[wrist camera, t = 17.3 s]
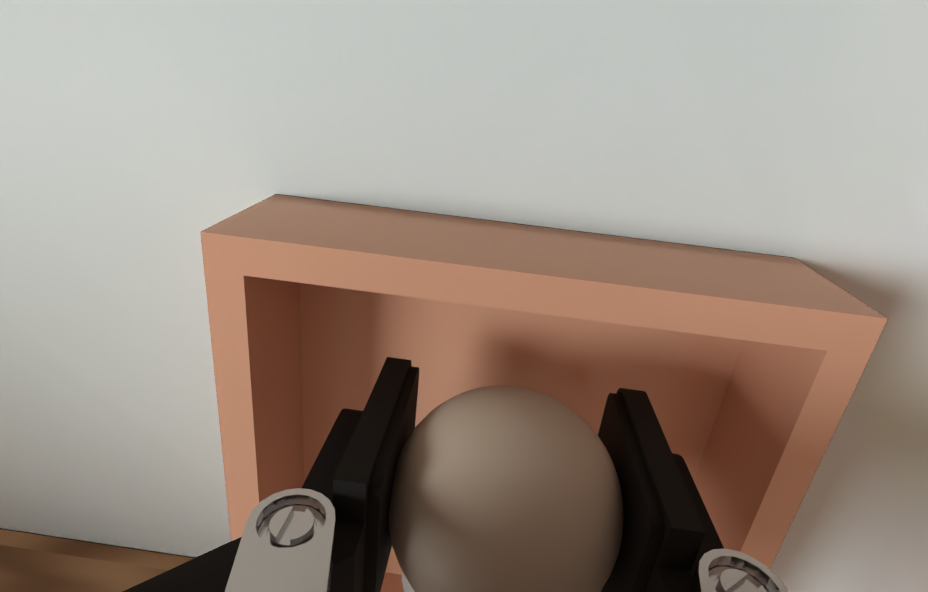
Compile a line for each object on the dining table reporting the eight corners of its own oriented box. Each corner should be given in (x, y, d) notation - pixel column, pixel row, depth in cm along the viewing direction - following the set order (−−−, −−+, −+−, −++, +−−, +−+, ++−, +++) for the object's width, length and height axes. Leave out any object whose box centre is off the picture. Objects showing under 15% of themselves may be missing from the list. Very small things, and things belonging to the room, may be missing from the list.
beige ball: (415, 332, 11) (365, 480, 7) (620, 359, 11) (687, 523, 7) (403, 490, 13) (357, 679, 9) (580, 513, 13) (616, 716, 9)
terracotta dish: (290, 558, 18) (243, 661, 15) (275, 193, 13) (200, 232, 10) (660, 613, 18) (692, 731, 15) (793, 257, 13) (887, 318, 10)
